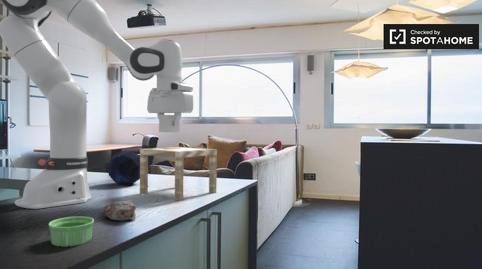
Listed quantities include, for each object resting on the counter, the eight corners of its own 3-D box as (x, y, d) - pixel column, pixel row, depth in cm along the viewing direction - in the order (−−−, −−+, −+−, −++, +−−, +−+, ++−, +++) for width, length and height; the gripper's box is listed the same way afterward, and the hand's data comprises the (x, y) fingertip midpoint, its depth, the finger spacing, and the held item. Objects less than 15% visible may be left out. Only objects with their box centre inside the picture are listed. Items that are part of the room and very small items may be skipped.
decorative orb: (103, 175, 141) (127, 144, 145) (98, 170, 154) (120, 142, 158) (132, 195, 147) (155, 165, 151) (125, 189, 160) (146, 161, 164)
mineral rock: (101, 212, 105) (101, 197, 105) (130, 210, 108) (130, 195, 108) (105, 226, 91) (105, 209, 91) (137, 223, 94) (137, 206, 94)
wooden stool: (178, 201, 121) (179, 152, 121) (139, 193, 133) (140, 149, 132) (216, 192, 138) (216, 149, 137) (178, 186, 149) (179, 146, 149)
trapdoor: (179, 154, 125) (179, 150, 125) (151, 151, 133) (151, 148, 133) (205, 151, 136) (205, 148, 136) (178, 149, 145) (178, 147, 145)
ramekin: (38, 244, 76) (38, 224, 76) (72, 233, 85) (72, 214, 85) (70, 250, 73) (71, 229, 73) (102, 238, 82) (102, 218, 81)
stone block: (168, 132, 125) (168, 114, 124) (159, 131, 127) (159, 115, 127) (179, 132, 129) (179, 115, 128) (169, 131, 132) (169, 115, 131)
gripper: (143, 87, 131) (142, 125, 131) (183, 84, 119) (182, 126, 119) (156, 89, 136) (156, 125, 137) (196, 86, 124) (196, 126, 125)
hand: (169, 126), depth 128 cm, fingers closed on stone block, 5 cm apart
